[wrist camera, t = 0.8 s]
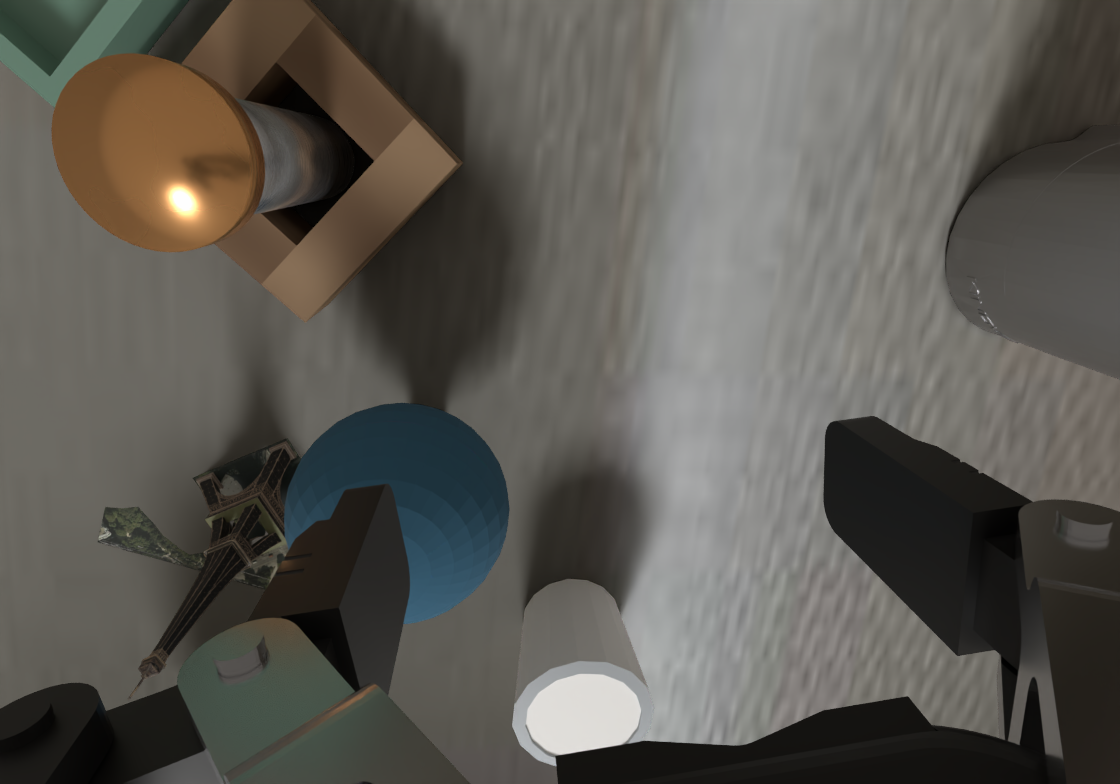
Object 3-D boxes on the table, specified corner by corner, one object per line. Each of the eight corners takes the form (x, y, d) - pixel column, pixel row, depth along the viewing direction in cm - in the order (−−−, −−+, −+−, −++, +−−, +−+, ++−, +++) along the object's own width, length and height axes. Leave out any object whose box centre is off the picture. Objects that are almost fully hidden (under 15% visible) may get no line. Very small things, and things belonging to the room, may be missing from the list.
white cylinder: (505, 576, 35) (503, 672, 29) (626, 562, 35) (652, 654, 29) (518, 671, 38) (519, 779, 31) (631, 658, 38) (657, 762, 31)
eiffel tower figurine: (98, 537, 33) (-151, 766, 21) (135, 367, 30) (-130, 513, 18) (376, 613, 36) (306, 854, 24) (434, 466, 33) (389, 651, 21)
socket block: (297, -14, 25) (264, -40, 22) (463, 163, 28) (457, 163, 24) (159, 153, 27) (109, 152, 23) (328, 304, 29) (305, 322, 26)
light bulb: (468, 323, 30) (443, 422, 19) (535, 468, 33) (546, 628, 22) (310, 388, 31) (193, 521, 19) (389, 524, 33) (327, 709, 22)
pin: (306, 78, 26) (125, 6, 14) (387, 160, 27) (288, 162, 15) (239, 155, 27) (12, 153, 15) (321, 232, 28) (176, 288, 16)
